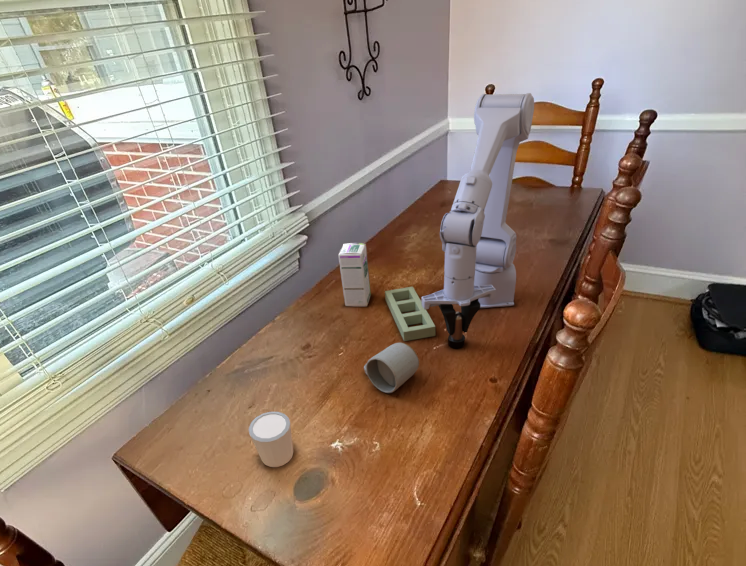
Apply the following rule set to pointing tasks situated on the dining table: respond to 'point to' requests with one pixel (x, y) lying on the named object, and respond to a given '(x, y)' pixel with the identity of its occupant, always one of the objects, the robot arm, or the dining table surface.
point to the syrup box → (355, 274)
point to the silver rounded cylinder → (457, 333)
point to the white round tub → (272, 438)
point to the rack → (409, 314)
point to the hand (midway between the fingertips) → (456, 331)
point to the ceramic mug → (392, 367)
